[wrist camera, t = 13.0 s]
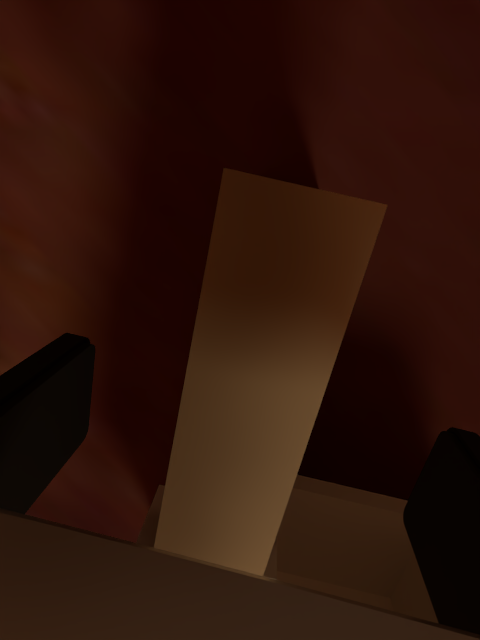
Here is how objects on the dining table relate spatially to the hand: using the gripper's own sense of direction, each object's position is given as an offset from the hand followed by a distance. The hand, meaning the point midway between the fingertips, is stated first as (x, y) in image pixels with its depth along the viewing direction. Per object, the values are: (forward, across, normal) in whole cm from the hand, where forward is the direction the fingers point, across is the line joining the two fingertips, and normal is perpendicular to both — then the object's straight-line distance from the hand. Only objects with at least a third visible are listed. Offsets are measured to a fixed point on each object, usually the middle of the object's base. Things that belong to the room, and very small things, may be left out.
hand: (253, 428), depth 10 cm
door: (+11, +1, +1) cm, 11 cm away
